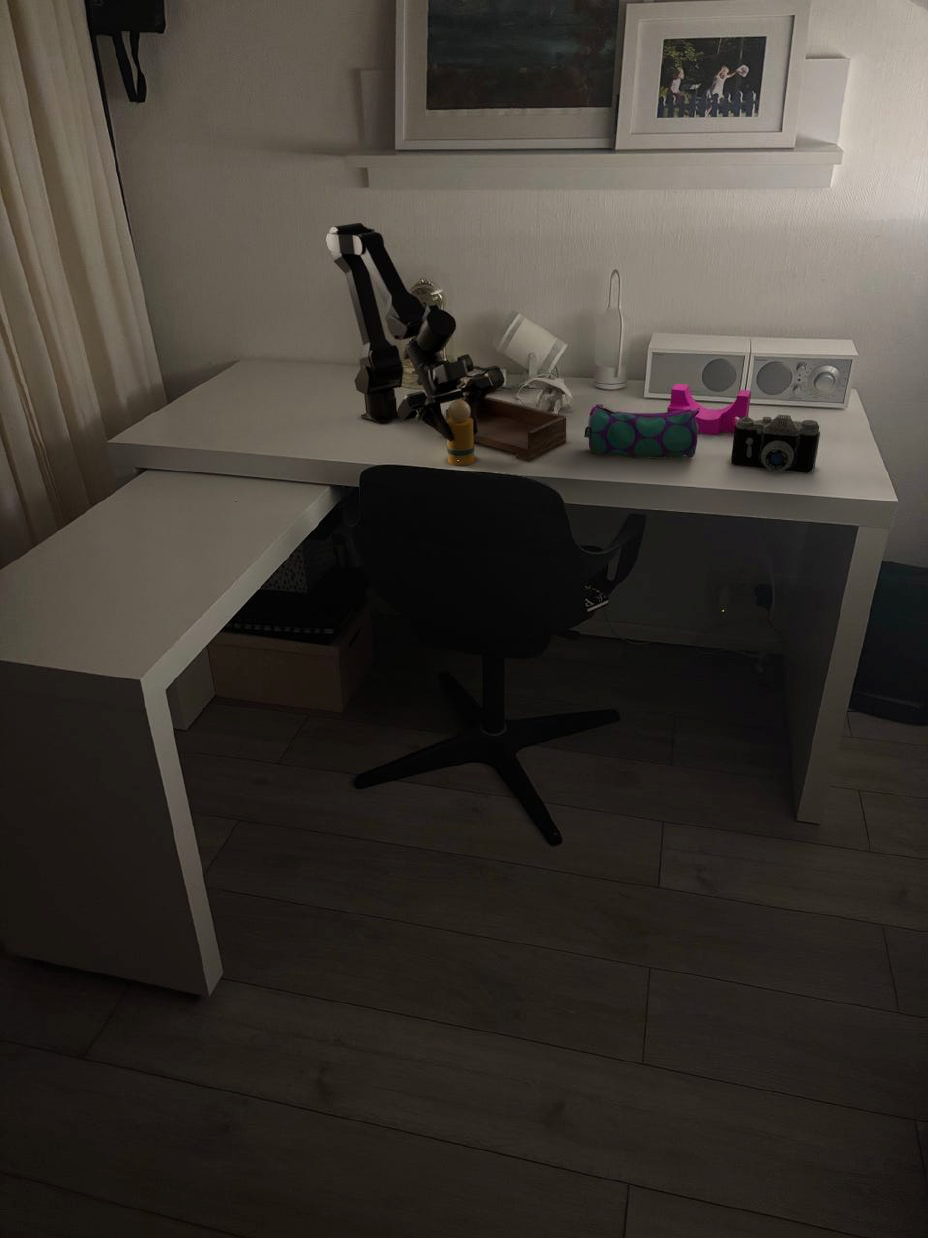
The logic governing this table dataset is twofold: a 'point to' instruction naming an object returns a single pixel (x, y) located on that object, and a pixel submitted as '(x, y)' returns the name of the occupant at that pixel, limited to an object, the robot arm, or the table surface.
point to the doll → (460, 434)
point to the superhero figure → (551, 393)
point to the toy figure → (491, 372)
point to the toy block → (710, 410)
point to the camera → (776, 444)
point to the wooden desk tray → (518, 428)
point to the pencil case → (642, 433)
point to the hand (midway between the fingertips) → (464, 436)
